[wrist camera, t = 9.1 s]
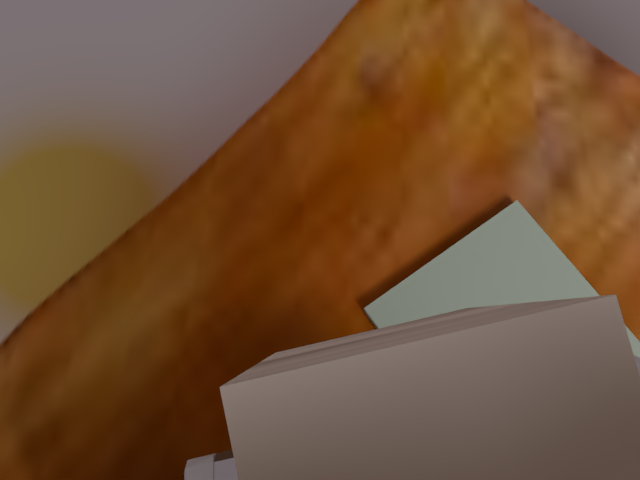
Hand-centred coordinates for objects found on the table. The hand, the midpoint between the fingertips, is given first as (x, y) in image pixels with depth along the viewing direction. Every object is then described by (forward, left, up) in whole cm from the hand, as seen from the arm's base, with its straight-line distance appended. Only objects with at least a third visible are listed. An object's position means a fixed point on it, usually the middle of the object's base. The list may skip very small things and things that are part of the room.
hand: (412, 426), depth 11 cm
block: (0, 0, -4) cm, 4 cm away
